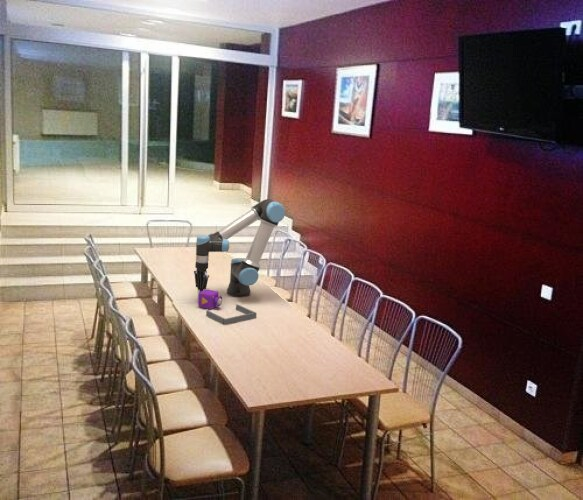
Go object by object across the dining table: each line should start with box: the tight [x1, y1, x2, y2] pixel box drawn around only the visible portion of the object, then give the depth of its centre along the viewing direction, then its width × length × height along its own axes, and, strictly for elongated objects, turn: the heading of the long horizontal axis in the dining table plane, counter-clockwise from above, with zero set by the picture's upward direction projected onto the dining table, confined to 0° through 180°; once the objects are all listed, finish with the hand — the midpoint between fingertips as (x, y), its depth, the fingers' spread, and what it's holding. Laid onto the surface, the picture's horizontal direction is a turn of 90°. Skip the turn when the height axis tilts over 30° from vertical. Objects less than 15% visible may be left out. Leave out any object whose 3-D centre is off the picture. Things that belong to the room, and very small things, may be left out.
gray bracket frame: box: [205, 303, 257, 326], centre depth 336 cm, size 22×18×4 cm
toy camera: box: [197, 288, 223, 310], centre depth 349 cm, size 11×14×10 cm
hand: (200, 299), depth 358 cm, fingers closed
